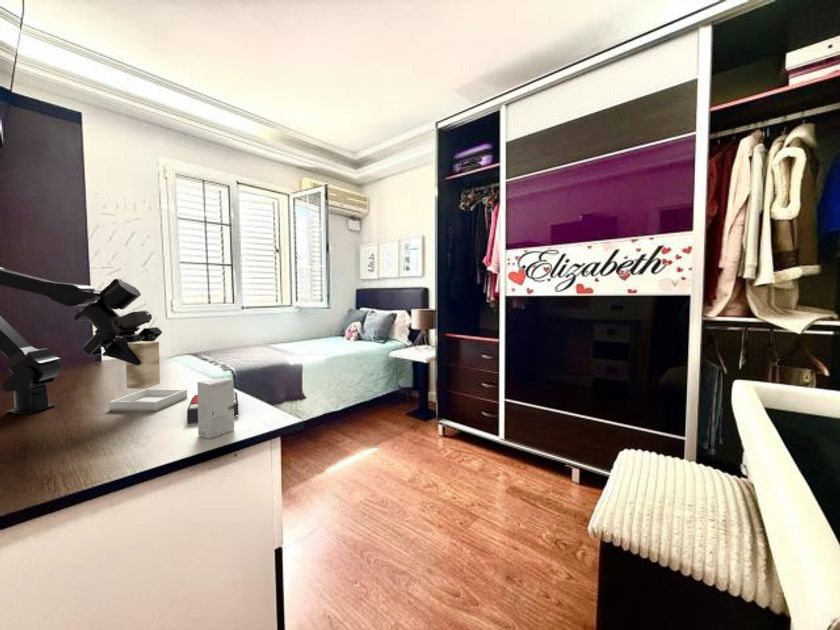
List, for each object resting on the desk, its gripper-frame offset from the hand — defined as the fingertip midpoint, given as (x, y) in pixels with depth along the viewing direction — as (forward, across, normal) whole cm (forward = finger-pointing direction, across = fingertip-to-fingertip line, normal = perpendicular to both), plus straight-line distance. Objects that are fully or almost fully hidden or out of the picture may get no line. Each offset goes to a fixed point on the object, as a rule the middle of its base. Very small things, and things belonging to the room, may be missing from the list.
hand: (148, 362), depth 92 cm
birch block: (+4, 0, +6) cm, 7 cm away
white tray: (+8, +3, +10) cm, 13 cm away
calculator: (+23, -1, -4) cm, 23 cm away
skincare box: (+29, -15, -11) cm, 35 cm away
